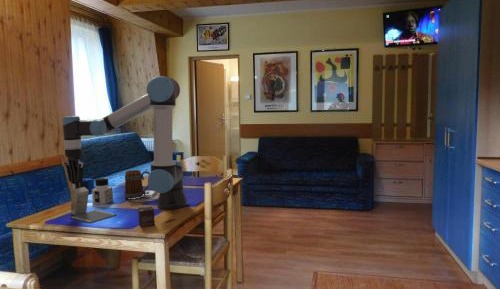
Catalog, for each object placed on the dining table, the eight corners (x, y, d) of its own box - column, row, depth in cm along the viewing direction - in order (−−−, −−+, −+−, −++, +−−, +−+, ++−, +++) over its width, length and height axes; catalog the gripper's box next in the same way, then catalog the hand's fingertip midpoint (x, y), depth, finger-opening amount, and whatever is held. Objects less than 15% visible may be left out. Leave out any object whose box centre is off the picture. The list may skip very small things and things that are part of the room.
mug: (122, 200, 212) (120, 173, 211) (127, 195, 223) (125, 170, 221) (151, 198, 213) (149, 172, 212) (154, 194, 224) (153, 169, 222)
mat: (116, 215, 183) (116, 214, 183) (90, 223, 171) (90, 222, 171) (95, 210, 191) (95, 209, 191) (69, 218, 180) (69, 216, 180)
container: (105, 204, 204) (103, 179, 203) (92, 203, 206) (90, 179, 204) (113, 200, 212) (112, 177, 210) (100, 200, 213) (99, 176, 212)
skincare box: (82, 207, 191) (85, 186, 187) (86, 212, 189) (89, 190, 185) (69, 210, 186) (72, 188, 182) (73, 215, 184) (76, 193, 180)
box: (152, 221, 171) (151, 205, 170) (155, 225, 166) (154, 209, 165) (138, 223, 169) (137, 207, 168) (140, 227, 163) (139, 211, 162)
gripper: (88, 148, 184) (91, 196, 187) (72, 147, 191) (76, 193, 194) (73, 149, 178) (77, 199, 180) (58, 148, 185) (61, 196, 188)
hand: (76, 196), depth 187 cm, fingers closed
